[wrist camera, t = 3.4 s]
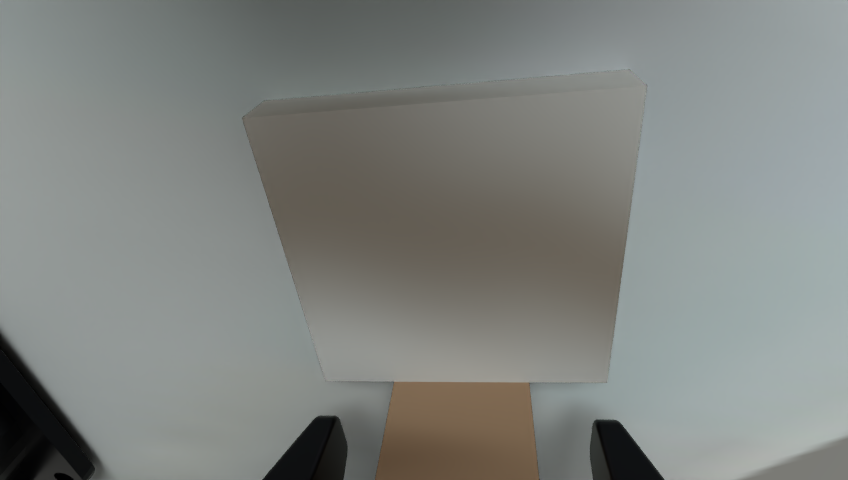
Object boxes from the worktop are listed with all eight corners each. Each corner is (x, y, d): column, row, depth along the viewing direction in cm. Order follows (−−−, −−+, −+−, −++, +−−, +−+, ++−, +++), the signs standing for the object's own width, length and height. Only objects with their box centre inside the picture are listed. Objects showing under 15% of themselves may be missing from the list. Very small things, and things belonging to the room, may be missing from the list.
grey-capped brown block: (580, 499, 11) (620, 733, 8) (376, 491, 12) (336, 703, 9) (629, 68, 6) (803, 231, 3) (265, 99, 7) (61, 257, 4)
